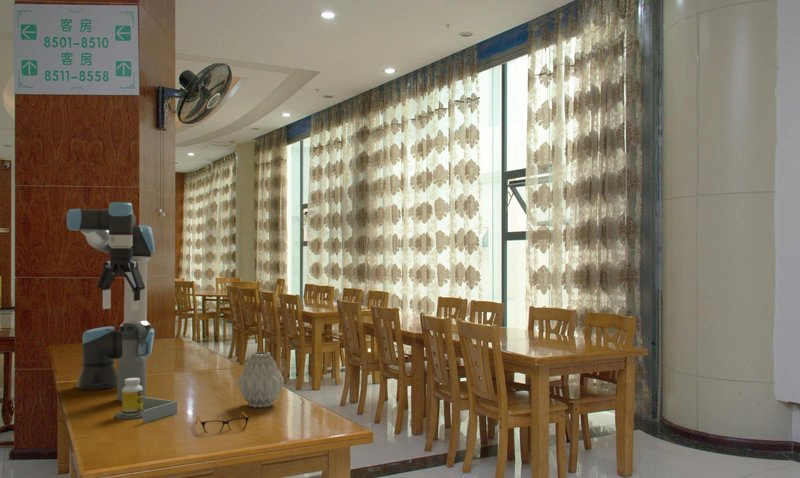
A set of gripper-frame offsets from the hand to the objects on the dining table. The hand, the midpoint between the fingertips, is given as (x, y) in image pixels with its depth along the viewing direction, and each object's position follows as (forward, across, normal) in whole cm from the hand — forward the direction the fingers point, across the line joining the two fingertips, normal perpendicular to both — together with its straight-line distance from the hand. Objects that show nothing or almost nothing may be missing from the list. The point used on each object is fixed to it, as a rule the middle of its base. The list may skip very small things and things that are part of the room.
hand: (120, 309), depth 232 cm
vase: (+35, +38, +28) cm, 59 cm away
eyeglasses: (+35, +43, +2) cm, 56 cm away
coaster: (+35, +8, -2) cm, 36 cm away
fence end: (+35, +19, 0) cm, 40 cm away
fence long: (+35, +8, +6) cm, 36 cm away
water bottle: (+35, -10, +14) cm, 39 cm away
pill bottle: (+34, +8, -2) cm, 35 cm away
